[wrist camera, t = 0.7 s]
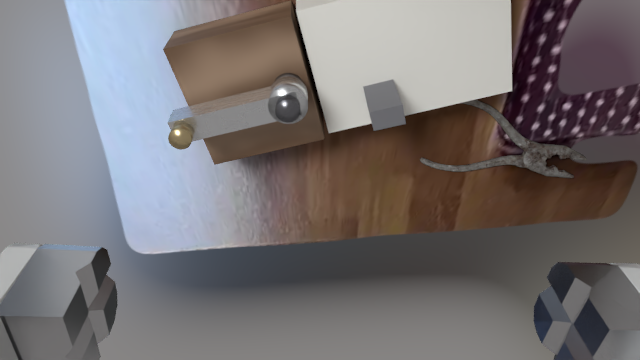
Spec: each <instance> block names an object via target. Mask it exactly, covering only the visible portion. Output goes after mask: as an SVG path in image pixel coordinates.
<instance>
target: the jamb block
mask: <svg viewBox="0 0 640 360" xmlns="http://www.w3.org/2000/svg"><path fill="white" fill-rule="evenodd" d="M163 50H164V52H165V54H166V57H167V59H168V61H169V63H170V65H171V68H172V70H173V72H174V74H175V77H176V79H177V81H178V83H179V86H180V88H181V90H182V92H183V95H184V97H185V99H186V101H187V104H188V106H192V105H196V104H200V103H204V102H208V101H212V100H216V99H220V98H225V97H229V96H233V95H237V94H241V93H245V92H249V91H253V90H257V89H261V88H265V87H269V86H271V85H272V84H273V83H274V81H276V80H277V79H279V78H281V77H285V76H291V77H295V78H298V79H299V80H301V81H302V82H303V83H304V84H305V86H306V88H307V92H308V111H307V113H306V115H305V117H304V118H303V119H302V120H300V121H299V122H296V123H293V124H283V123H280V122H278V121H276V122H272V123H268V124H264V125H259V126H255V127H251V128H247V129H242V130H238V131H234V132H230V133H225V134H221V135H217V136H213V137H209V138H204V142H205V144H206V146H207V148H208V151H209V153H210V155H211V157H212V160H213V162H214V164H219V163H223V162H228V161H232V160H236V159H241V158H245V157H249V156H254V155H258V154H263V153H267V152H271V151H276V150H280V149H284V148H289V147H293V146H297V145H302V144H306V143H310V142H315V141H319V140H324V139H325V138H324V126H323V116H322V112H321V109H320V105H319V101H318V98H317V94H316V90H315V87H314V83H313V79H312V75H311V72H310V68H309V64H308V61H307V57H306V53H305V50H304V46H303V42H302V39H301V35H300V31H299V28H298V24H297V20H296V17H295V13H294V9H293V6H292V2H291V1H288V2H284V3H280V4H276V5H272V6H269V7H265V8H261V9H257V10H253V11H250V12H246V13H242V14H238V15H234V16H231V17H227V18H223V19H219V20H215V21H212V22H208V23H204V24H200V25H196V26H193V27H189V28H185V29H181V30H177V31H174V33H173V35H172V36H171V38H170V39H169V41H168V43H167V44H166V46H165V47H164V49H163Z"/></svg>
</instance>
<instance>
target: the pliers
mask: <svg viewBox="0 0 640 360" xmlns="http://www.w3.org/2000/svg"><path fill="white" fill-rule="evenodd" d="M463 104H468V105H472V106H475V107H478V108H480V109H482V110H484V111H486V112H488V113H489V114H490V115H492V116H493V117H494V118H495V119H496V121H497V122H498V123H499V124H500V125H501V127H502V128H503V129H504V131H505V132H506V133H507V135H508V136H509V137H510V139H511V140H512V141H513V142H514V143H515V144H516V145H518V146H519V147H520V148H521V149H523V150H524V152H523V155H512V156H503V157H498V158H493V159H490V160H486V161H482V162H478V163H473V164H468V165H460V166H452V165H443V164H438V163H435V162H432V161H430V160H427V159H425V158H421V159H420V161H421V162H422V163H423V164H425V165H428V166H430V167H433V168H436V169H440V170H446V171H454V172H463V171H472V170H477V169H482V168H488V167H493V166H499V165H516V166H517V167H524V168H528V169H530V170H532V171H535V172H537V173H540V174H543V175H545V176H554V177H566V178H573V177H574V176H573V175H572V174H570V173H568V172H566V171H564V170H558V169H557V167H556V166H554V165H552V166H550V167H546V164H547V163H546V161H545V160H546V159H547V158H551V157H552V156H553V155H556V154H558V157H559V158H560V159H565V158H567V157H570V158H572V159H574V160H586V157H585V156H584V155H582V154H580V153H579V152H577V151H575V150H573V149H570V148H568V147H567V146H562V145H550V144H539V143H536V142H534V141H531V140H528V139H526V138H524V137H523V136H522V135H520V134H519V133H518V132H517V131H516V130H515V129H514V128H513V127H512V125H511V124H510V123H509V122H508V121H507V120H506V119H505V118H504V116H503V115H502V114H501V113H499V112H498V111H497V110H496V109H494V108H493V107H491V106H490V105H487V104H485V103H483V102H480V101H477V100H471V101H467V102H463Z"/></svg>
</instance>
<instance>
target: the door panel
mask: <svg viewBox="0 0 640 360" xmlns="http://www.w3.org/2000/svg"><path fill="white" fill-rule="evenodd" d="M296 13H297V17H298V21H299V25H300V28H301V32H302V36H303V39H304V43H305V47H306V51H307V54H308V58H309V62H310V65H311V69H312V73H313V77H314V80H315V84H316V88H317V91H318V95H319V99H320V103H321V106H322V110H323V114H324V117H325V121H326V125H327V128H328V132H329V133H333V132H337V131H341V130H346V129H350V128H354V127H359V126H363V125H367V124H372V126H373V130H374V131H376V130H381V129H385V128H390V127H394V126H398V125H403V124H406V121H405V116H406V115H411V114H415V113H419V112H424V111H428V110H432V109H437V108H441V107H445V106H450V105H454V104H458V103H463V102H467V101H471V100H476V99H480V98H484V97H489V96H493V95H497V94H502V93H506V92H510V91H512V43H511V0H296Z"/></svg>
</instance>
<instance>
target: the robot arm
mask: <svg viewBox="0 0 640 360" xmlns="http://www.w3.org/2000/svg"><path fill="white" fill-rule="evenodd" d="M110 265H111V262H110V258H109V255H108V251H107V250H106V249H105V248H103V247H90V246H72V245H53V244H44V245H40V244H25V243H14V244H11V245H10V246H8V247H6V248H5V249H4V250H3V252H2V253H1V254H0V360H99V359H100V357H101V356H100V352H99V349H98V345H97V344H98V343H99V342H101V341H102V340H103V339H104V338H105V337H107V336H108V335H109V334H110V331H111V329H112V326H113V324H114V320H115V315H116V309H117V289H116V285H115V282H114V281H113V280H112V279H111V278H110V277H108V276H107V275H106V274H107V272H108V270H109V267H110ZM547 279H548V281H549V283H550V285H551V286H550V287H549V288H547V289H546V290H544V291H543V292H541V293H540V294H539V296H538V298H537V301H536V303H535V306H534V324H535V328H536V332H537V334H538V337H539V339H540V341H541V343H542V344H543V345H544V346H545V347H547V348H548V349H549V350H550V351H552V352H553V353H554V354H555V356H554V360H640V265H639V264H633V263H610V264H607V263H572V262H558V263H556V264H555V265H554V266H553V267H552V268H551V270H550V272H549V274H548V276H547Z"/></svg>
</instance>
